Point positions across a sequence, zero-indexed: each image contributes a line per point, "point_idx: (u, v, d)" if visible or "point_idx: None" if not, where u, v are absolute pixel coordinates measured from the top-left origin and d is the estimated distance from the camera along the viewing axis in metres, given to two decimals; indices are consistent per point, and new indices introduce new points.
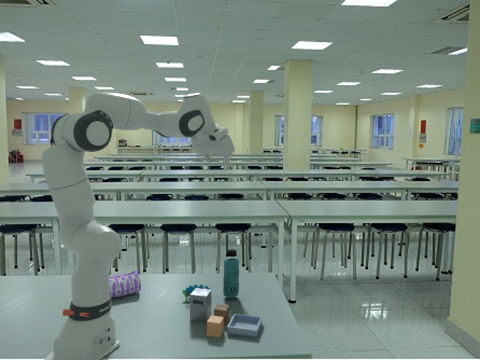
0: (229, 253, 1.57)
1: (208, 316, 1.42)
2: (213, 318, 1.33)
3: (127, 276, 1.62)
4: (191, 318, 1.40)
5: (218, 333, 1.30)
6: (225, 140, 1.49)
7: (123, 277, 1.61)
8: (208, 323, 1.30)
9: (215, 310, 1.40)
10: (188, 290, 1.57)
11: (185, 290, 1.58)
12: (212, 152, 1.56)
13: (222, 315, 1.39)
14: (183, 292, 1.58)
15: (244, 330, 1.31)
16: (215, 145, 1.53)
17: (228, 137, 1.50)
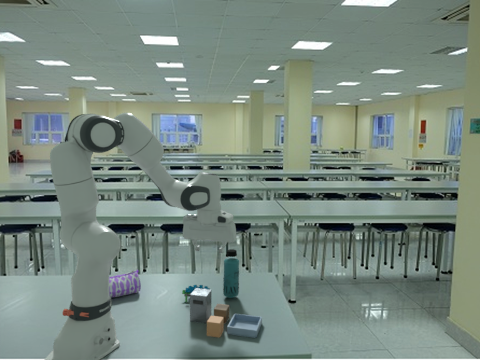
0: (229, 253, 1.57)
1: (208, 316, 1.42)
2: (213, 318, 1.33)
3: (127, 276, 1.62)
4: (191, 318, 1.40)
5: (218, 333, 1.30)
6: (233, 225, 1.44)
7: (123, 277, 1.61)
8: (208, 323, 1.30)
9: (215, 310, 1.40)
10: (188, 290, 1.57)
11: (185, 290, 1.58)
12: (210, 237, 1.46)
13: (222, 315, 1.39)
14: (183, 292, 1.58)
15: (244, 330, 1.31)
16: (217, 229, 1.45)
17: (233, 223, 1.46)
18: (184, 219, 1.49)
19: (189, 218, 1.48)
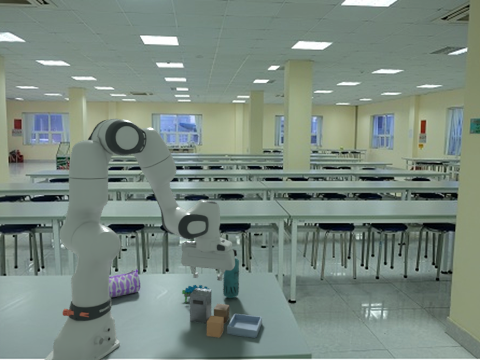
0: None
1: (208, 316, 1.42)
2: (213, 318, 1.33)
3: (126, 276, 1.62)
4: (191, 318, 1.40)
5: (218, 333, 1.30)
6: (231, 253, 1.45)
7: (123, 277, 1.61)
8: (208, 323, 1.30)
9: (215, 310, 1.40)
10: (188, 290, 1.57)
11: None
12: (209, 265, 1.46)
13: (222, 315, 1.39)
14: (183, 292, 1.57)
15: (244, 330, 1.31)
16: (216, 257, 1.45)
17: (232, 251, 1.47)
18: (183, 246, 1.49)
19: (188, 245, 1.48)
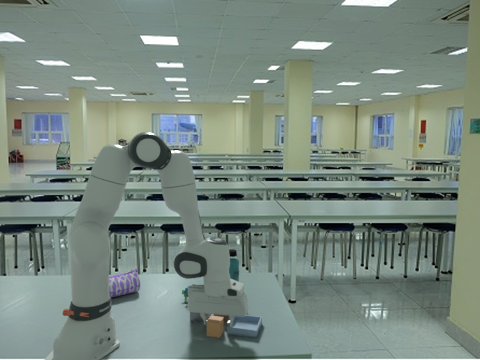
0: (229, 253, 1.57)
1: (208, 316, 1.42)
2: (213, 318, 1.33)
3: (126, 275, 1.63)
4: (191, 318, 1.40)
5: (218, 333, 1.30)
6: (244, 297, 1.29)
7: (122, 276, 1.62)
8: (208, 323, 1.30)
9: None
10: (187, 290, 1.57)
11: None
12: (219, 311, 1.30)
13: (222, 315, 1.39)
14: (182, 292, 1.57)
15: (244, 330, 1.31)
16: (227, 302, 1.29)
17: (245, 294, 1.31)
18: (189, 290, 1.33)
19: (195, 289, 1.33)
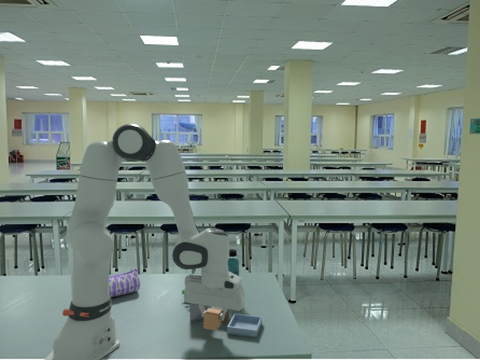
0: (229, 253, 1.57)
1: None
2: (211, 310, 1.31)
3: (126, 275, 1.63)
4: (191, 318, 1.40)
5: (215, 326, 1.28)
6: (241, 291, 1.27)
7: (122, 276, 1.62)
8: (205, 315, 1.29)
9: None
10: None
11: None
12: (215, 303, 1.28)
13: None
14: (182, 292, 1.57)
15: (244, 330, 1.31)
16: (224, 295, 1.28)
17: (242, 288, 1.29)
18: (186, 280, 1.32)
19: (192, 279, 1.31)
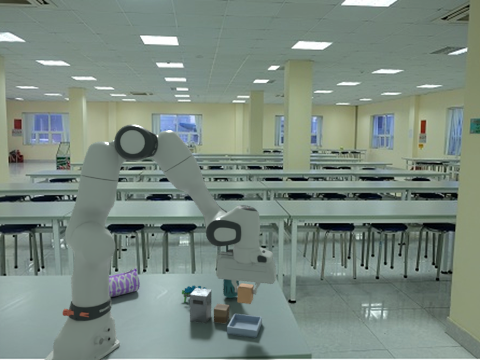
0: None
1: (208, 316, 1.42)
2: (243, 285, 1.34)
3: (126, 275, 1.63)
4: (191, 318, 1.40)
5: (249, 299, 1.32)
6: (273, 265, 1.31)
7: (122, 276, 1.62)
8: (239, 290, 1.32)
9: (215, 310, 1.40)
10: (187, 291, 1.56)
11: None
12: (248, 278, 1.32)
13: (222, 315, 1.39)
14: (182, 292, 1.57)
15: (244, 330, 1.31)
16: (256, 269, 1.31)
17: (273, 262, 1.32)
18: (218, 257, 1.35)
19: (224, 256, 1.34)
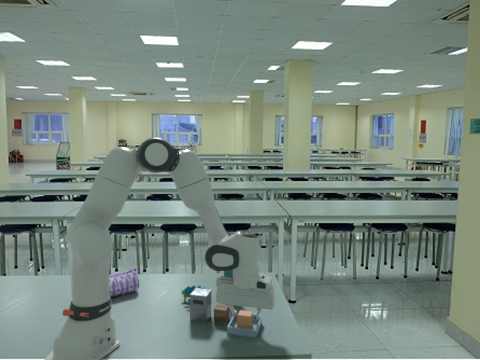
0: None
1: (208, 316, 1.42)
2: (243, 313, 1.35)
3: (125, 275, 1.63)
4: (191, 318, 1.40)
5: (248, 327, 1.33)
6: (272, 291, 1.32)
7: (121, 276, 1.62)
8: (238, 317, 1.33)
9: (215, 310, 1.40)
10: (187, 291, 1.56)
11: (184, 290, 1.58)
12: (247, 303, 1.33)
13: (222, 315, 1.39)
14: (182, 292, 1.57)
15: (244, 330, 1.31)
16: (255, 295, 1.32)
17: (273, 287, 1.34)
18: (218, 281, 1.36)
19: (223, 280, 1.35)
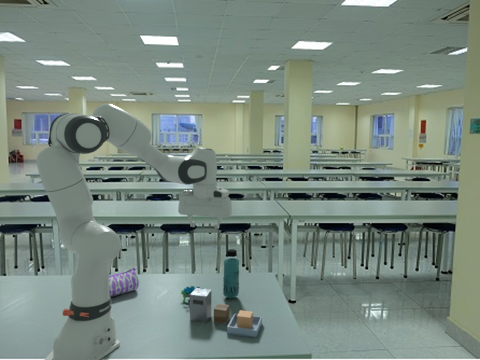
0: (229, 253, 1.57)
1: (208, 316, 1.42)
2: (243, 313, 1.35)
3: (125, 274, 1.64)
4: (191, 318, 1.40)
5: (248, 327, 1.33)
6: (228, 200, 1.45)
7: (121, 275, 1.63)
8: (238, 317, 1.33)
9: (215, 310, 1.40)
10: (186, 291, 1.56)
11: (184, 291, 1.58)
12: (206, 212, 1.46)
13: (222, 315, 1.39)
14: (181, 292, 1.57)
15: (244, 330, 1.31)
16: (213, 204, 1.45)
17: (229, 199, 1.47)
18: (180, 195, 1.49)
19: (185, 194, 1.49)
